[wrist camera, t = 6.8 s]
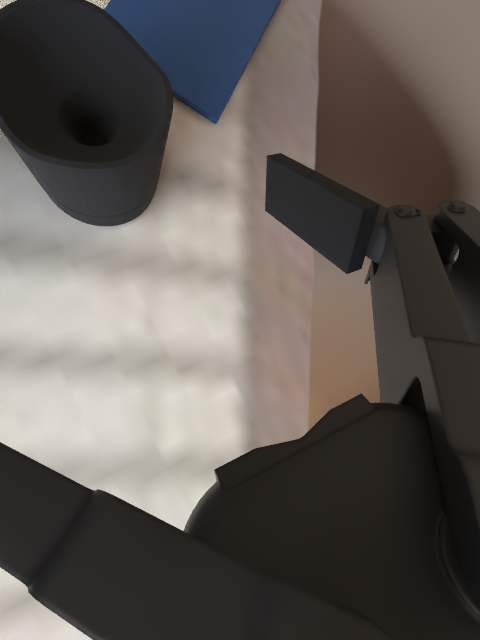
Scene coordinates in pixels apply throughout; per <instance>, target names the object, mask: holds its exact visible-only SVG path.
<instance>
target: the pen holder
mask: <svg viewBox="0 0 480 640" xmlns="http://www.w3.org/2000/svg"><path fill="white" fill-rule="evenodd" d="M172 110H173V94H172V88H171V85H170V82H169V79H168V77H167V76H166V74H165V72H164V71H163V70H162V69H161V67H160V66H159V65H158V64H157V63H156V62H155V61H154V60H153V59H152V58H151V57H150V56H149V54H148V53H147V52H146V51H145V50H144V49H143V48H142V47H141V46H140V45H139V43H138V42H137V41H136V40H135V39H134V38H133V37H132V36H131V35H130V33H129V32H128V31H127V30H126V29H125V28H124V27H123V26H122V25H121V24H120V23H119V22H118V21H117V20H116V19H115V18H113V17H112V16H111V15H110V14H109V13H107V12H106V11H105V10H103V9H102V8H100V7H98V6H96V5H95V4H93V3H91V2H88V1H86V0H17V1H14V2H12V3H10V4H8V5H6V6H5V7H3V8H2V9H0V129H1V130H2V131H3V133H4V134H5V136H6V137H7V138H8V140H9V141H10V143H11V144H12V146H13V147H14V148H15V150H16V151H17V153H18V154H19V155H20V157H21V158H22V160H23V161H24V163H25V164H26V165H27V167H28V168H29V170H30V171H31V172H32V174H33V175H34V177H35V178H36V179H37V181H38V182H39V184H40V185H41V186H42V188H43V189H44V190H45V191H46V193H47V194H48V195H49V197H50V198H51V199H52V201H53V202H54V203H55V204H56V205H57V206H58V207H59V208H60V209H62V210H63V211H64V212H65V213H67V214H68V215H70V216H71V217H73V218H75V219H77V220H79V221H82V222H85V223H87V224H92V225H97V226H114V225H120V224H124V223H126V222H129V221H131V220H133V219H135V218H136V217H138V216H139V215H140V214H142V213H143V211H144V210H145V209H146V208H147V207H148V205H149V204H150V202H151V200H152V198H153V196H154V193H155V190H156V186H157V182H158V178H159V174H160V169H161V164H162V160H163V155H164V150H165V145H166V141H167V136H168V131H169V127H170V122H171V116H172Z"/></svg>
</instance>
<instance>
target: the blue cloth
mask: <svg viewBox="0 0 480 640" xmlns="http://www.w3.org/2000/svg"><path fill="white" fill-rule="evenodd" d="M280 1H281V0H111V1H110V2H109V4H108V5H107V7H106V8H105V11H106V12H107V13H109V14H110V15H111V16H112V17H113V18H115V19H116V20H117V21H118V22H119V23H120V24H121V25H122V26H123V27H124V28H125V29H126V30H127V31H128V32H129V33H130V35H131V36H132V37H133V38H134V39H135V40H136V41H137V42H138V43H139V45H140V46H141V47H142V48H143V49H144V50H145V51H146V52H147V53H148V54H149V56H150V57H151V58H152V59H153V60H154V61H155V62H156V63H157V64H158V65H159V66H160V67H161V69H162V70H163V71H164V72H165V74H166V76H167V77H168V79H169V82H170V85H171V88H172V94H173V96H175V97H176V98H178V99H179V100H181V101H182V102H184V103H185V104H187V105H188V106H190V107H191V108H193V109H194V110H196V111H197V112H199V113H200V114H202V115H203V116H205V117H206V118H208V119H210V120H211V121H213V122H214V123H217V121H218V119H219V118H220V116H221V114H222V112H223V110H224V108H225V106H226V104H227V102H228V100H229V98H230V96H231V95H232V93H233V91H234V89H235V87H236V85H237V83H238V81H239V79H240V77H241V75H242V73H243V72H244V70H245V68H246V66H247V64H248V62H249V60H250V58H251V56H252V54H253V52H254V50H255V49H256V47H257V45H258V43H259V41H260V39H261V37H262V35H263V33H264V31H265V29H266V27H267V26H268V24H269V22H270V20H271V18H272V16H273V14H274V12H275V10H276V8H277V6H278V4H279V3H280Z"/></svg>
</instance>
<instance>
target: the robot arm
mask: <svg viewBox="0 0 480 640" xmlns="http://www.w3.org/2000/svg"><path fill="white" fill-rule="evenodd" d="M265 211H267V212H268V213H269V214H271V215H272V216H273V217H274V218H276V219H277V220H278V221H280V222H281V223H282V224H283V225H285V226H286V227H287V228H288V229H290V230H291V231H292V232H294V233H295V234H296V235H297V236H299V237H300V238H301V239H303V240H304V241H305V242H306V243H308V244H309V245H310V246H312V247H313V248H314V249H315V250H317V251H318V252H319V253H321V254H322V255H323V256H324V257H326V258H327V259H328V260H330V261H331V262H332V263H333V264H335V265H336V266H337V267H338V268H340V269H341V270H342V271H344V272H345V273H346V274H348V273H351V272H354V271H356V270H359V269H361V268H362V265H363V261H364V258H365V256H367V257H368V258H370V259H371V260H372V261H371V265H370V268H369V271H368V274H367V277H366V280H365V284H367V283H368V281H369V280H370V283H371V295H372V307H373V319H374V330H375V341H376V354H377V366H378V377H379V388H380V403H370V402H369V401H368V400H367V399H366V398H365V397H364V396H363V395H362V394H360V395H358V396H356V397H354V398H352V399H350V400H348V401H346V402H344V403H343V404H341V405H339V406H337V407H335V408H333V409H331V410H330V411H329V412H328V413H326V415H324V416H323V417H322V418H321V419H320V420H319V421H318V422H317V423H316V424H315V425H314V426H313V427H312V428H311V429H310V430H309V431H308V432H307V433H306V434H305V435H304V436H303V437H302V438H300V439H297V440H292V441H288V442H283V443H279V444H274V445H269V446H265V447H260V448H256V449H254V450H252V451H250V452H248V453H246V454H244V455H242V456H240V457H238V458H236V459H234V460H232V461H230V462H228V463H226V464H224V465H223V466H221V467H219V468H217V469H215V476H216V481H217V482H216V483H215V484H214V485H213V486H212V487H211V488H210V489H209V490H208V491H207V492H206V493H205V494H204V496H203V497H202V498H201V499H200V501H199V502H198V504H197V505H196V507H195V508H194V510H193V512H192V514H191V516H190V518H189V520H188V522H187V524H186V526H185V529H184V531H182V530H180V529H178V528H176V527H174V526H172V525H170V524H168V523H166V522H164V521H162V520H160V519H158V518H156V517H155V516H153V515H151V514H149V513H147V512H145V511H143V510H141V509H139V508H137V507H135V506H133V505H131V504H129V503H127V502H125V501H124V500H122V499H120V498H118V497H116V496H114V495H111V494H109V493H107V492H105V491H102V490H96V491H94V490H91V489H89V488H87V487H85V486H83V485H81V484H79V483H77V482H75V481H73V480H71V479H69V478H67V477H65V476H63V475H62V474H60V473H58V472H56V471H54V470H52V469H50V468H48V467H46V466H44V465H42V464H41V463H39V462H37V461H35V460H33V459H31V458H29V457H27V456H25V455H23V454H21V453H19V452H18V451H16V450H14V449H12V448H10V447H8V446H6V445H4V444H2V443H0V567H1V568H2V569H4V570H5V571H7V572H8V573H10V574H11V575H12V576H14V577H15V578H17V579H18V580H20V581H21V582H22V583H24V584H25V585H26V586H27V587H28V592H29V593H30V594H31V595H32V596H33V597H34V598H35V599H36V600H37V601H39V602H40V603H41V604H43V605H44V606H45V607H47V608H48V609H50V610H51V611H52V612H54V613H55V614H57V615H58V616H60V617H61V618H63V619H64V620H65V621H67V622H68V623H70V624H71V625H73V626H74V627H75V628H77V629H78V630H80V631H81V632H83V633H84V634H86V635H87V636H88V637H90V638H91V639H93V640H480V211H478V210H477V209H476V208H475V207H473V206H471V205H469V204H466V203H465V202H463V201H457V200H456V201H445V202H442V203H440V205H439V207H438V209H437V212H436V214H435V215H424V213H423V212H422V211H421V210H419V209H417V208H414V207H411V206H406V205H396V206H391V207H389V208H388V209H387V208H385V207H383V206H382V205H380V204H377V203H376V202H374V201H372V200H370V199H368V198H366V197H364V196H362V195H360V194H358V193H357V192H355V191H353V190H351V189H348V188H347V187H345V186H343V185H341V184H339V183H337V182H335V181H333V180H331V179H329V178H327V177H325V176H324V175H322V174H320V173H318V172H316V171H314V170H312V169H310V168H308V167H306V166H304V165H302V164H301V163H299V162H297V161H295V160H293V159H291V158H289V157H287V156H285V155H283V154H281V153H279V154H274V155H269V156H267V174H266V202H265ZM458 249H459V255H458V258H457V260H456V261H455V260H454V257H455V255H456V253H457V251H458Z"/></svg>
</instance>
